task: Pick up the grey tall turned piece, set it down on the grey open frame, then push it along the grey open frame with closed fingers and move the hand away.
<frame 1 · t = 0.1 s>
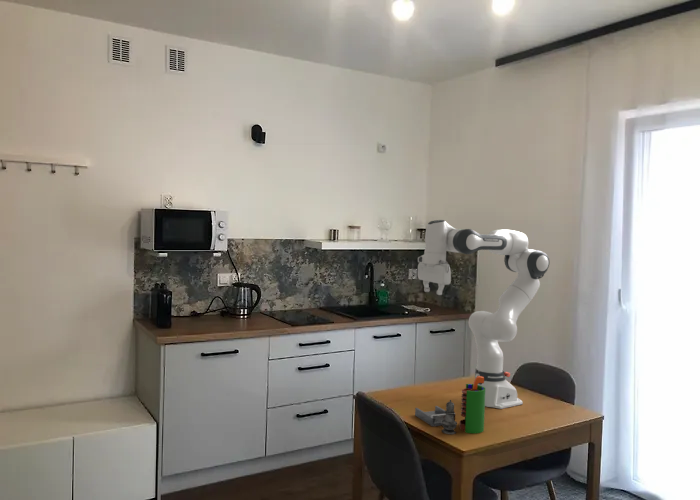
hand: (433, 293, 237), 48 cm above the table, fingers open, 8 cm apart
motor: (471, 429, 217), on the table
grey open frame: (434, 419, 226), on the table
grey tall turned piece: (448, 432, 213), on the table
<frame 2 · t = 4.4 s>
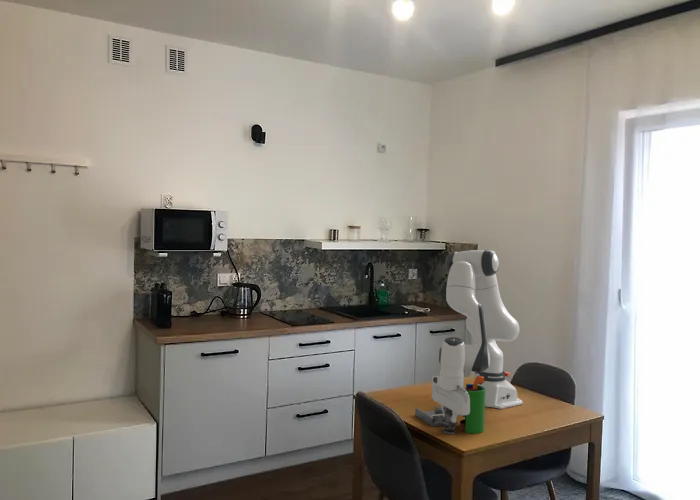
hand: (449, 419, 213), 4 cm above the table, fingers closed on grey tall turned piece, 3 cm apart
grey tall turned piece: (448, 432, 213), on the table, touching gripper
everything else where it was.
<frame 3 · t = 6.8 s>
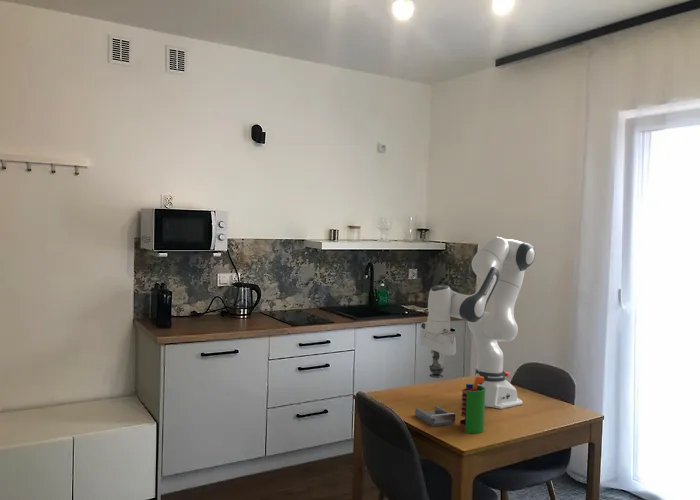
hand: (437, 362, 225), 22 cm above the table, fingers closed on grey tall turned piece, 3 cm apart
grey tall turned piece: (436, 376, 225), point 17 cm above the table, touching gripper
everything else where it was.
when the fingers open (8 cm above the table, at t = 9.2 s): grey tall turned piece drops 1 cm, resting on grey open frame.
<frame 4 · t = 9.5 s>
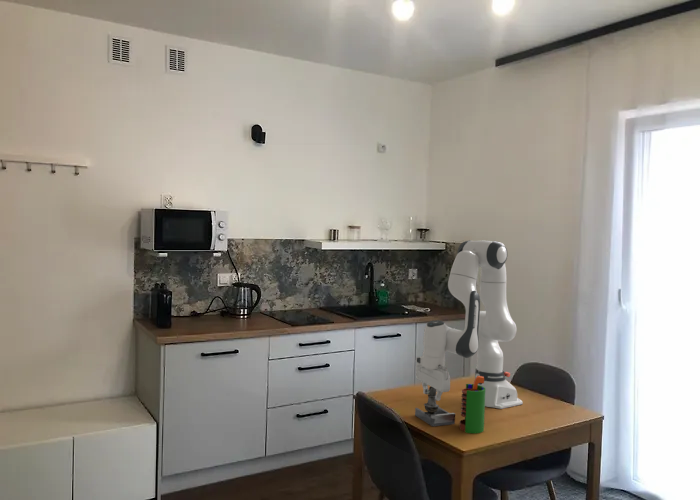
hand: (431, 396, 228), 8 cm above the table, fingers open, 7 cm apart
grey tall turned piece: (430, 414, 228), point 1 cm above the table, touching grey open frame
everything else where it was.
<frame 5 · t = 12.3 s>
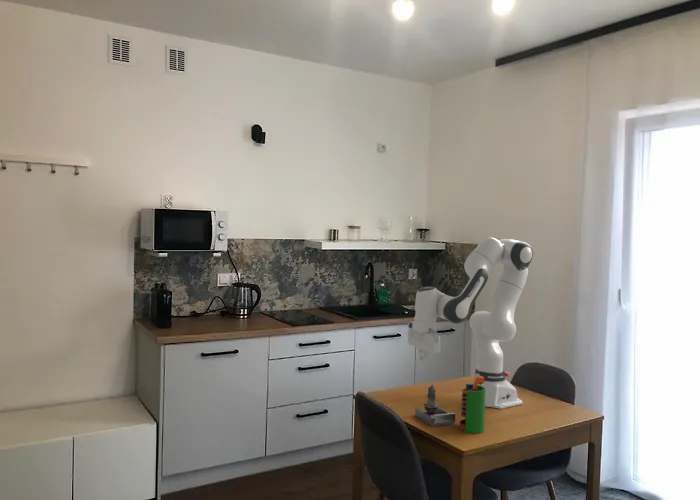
hand: (422, 360, 235), 21 cm above the table, fingers closed
nothing on the table moved.
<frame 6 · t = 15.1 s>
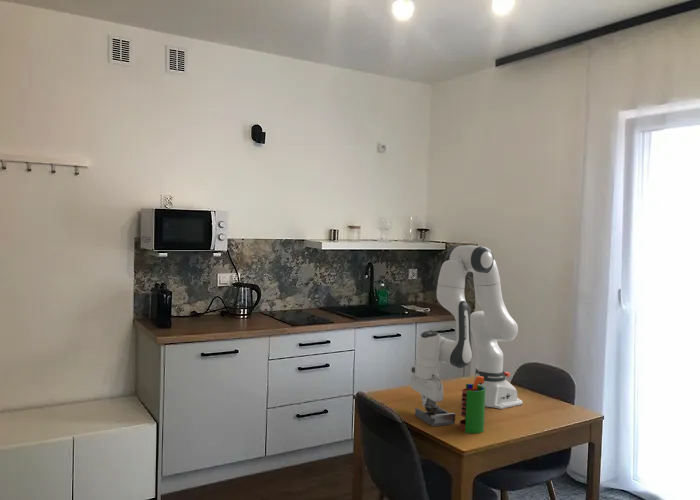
hand: (425, 406, 232), 3 cm above the table, fingers closed
grey tall turned piece: (431, 415, 228), point 1 cm above the table, touching gripper
everything else where it was.
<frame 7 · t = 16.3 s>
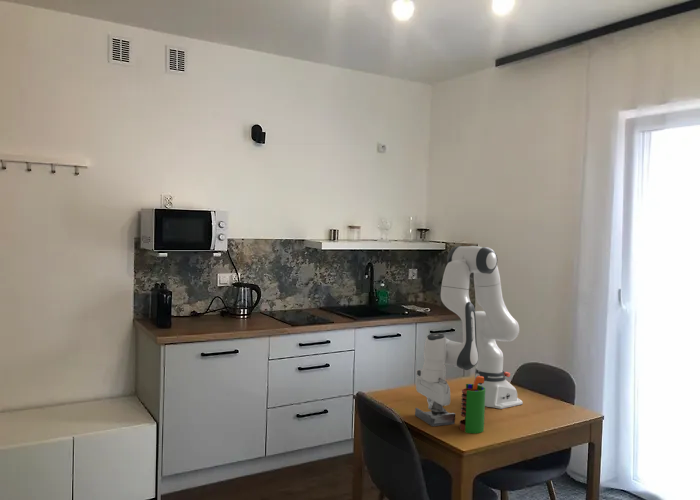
hand: (431, 409, 227), 3 cm above the table, fingers closed
grey tall turned piece: (437, 419, 224), point 1 cm above the table, touching grey open frame, gripper
everything else where it was.
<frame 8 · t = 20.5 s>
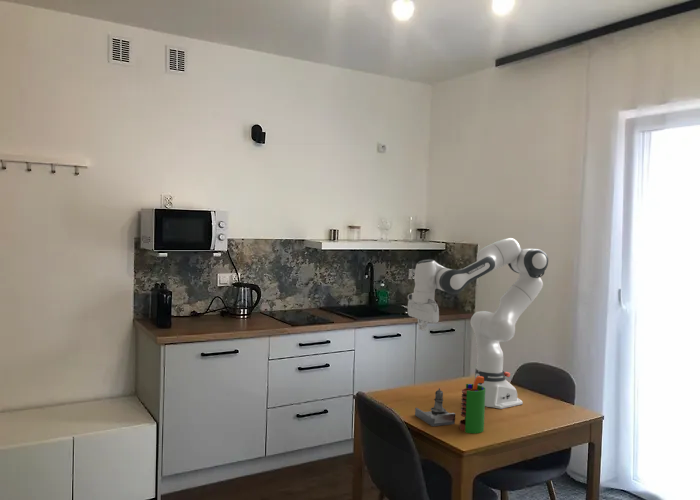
hand: (422, 330, 245), 31 cm above the table, fingers closed
grey tall turned piece: (437, 419, 224), point 1 cm above the table, touching grey open frame
everything else where it was.
at the end: grey tall turned piece 0.2 cm from the target spot on the grey open frame, point 0.9 cm above the grey open frame's base; grey tall turned piece tilted 0°; the gripper is holding nothing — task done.
